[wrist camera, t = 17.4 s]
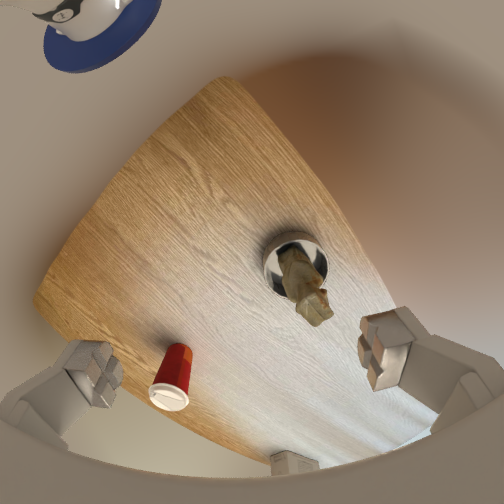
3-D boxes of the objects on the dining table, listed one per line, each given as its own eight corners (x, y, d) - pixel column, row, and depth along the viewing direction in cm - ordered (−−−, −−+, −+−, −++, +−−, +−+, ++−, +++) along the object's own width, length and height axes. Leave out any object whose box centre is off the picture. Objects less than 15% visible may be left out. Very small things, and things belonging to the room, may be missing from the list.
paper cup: (158, 353, 55) (141, 400, 42) (172, 333, 53) (156, 382, 40) (187, 369, 57) (177, 417, 44) (204, 351, 55) (195, 401, 42)
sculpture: (291, 284, 48) (306, 337, 35) (269, 254, 46) (278, 301, 32) (318, 267, 47) (344, 315, 33) (298, 235, 45) (319, 276, 31)
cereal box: (269, 456, 76) (273, 514, 53) (287, 449, 74) (293, 510, 51) (303, 467, 82) (309, 517, 59) (318, 461, 80) (327, 512, 57)
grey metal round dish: (258, 235, 45) (260, 244, 41) (321, 227, 45) (328, 235, 41) (266, 290, 49) (267, 303, 45) (323, 282, 49) (329, 295, 45)
